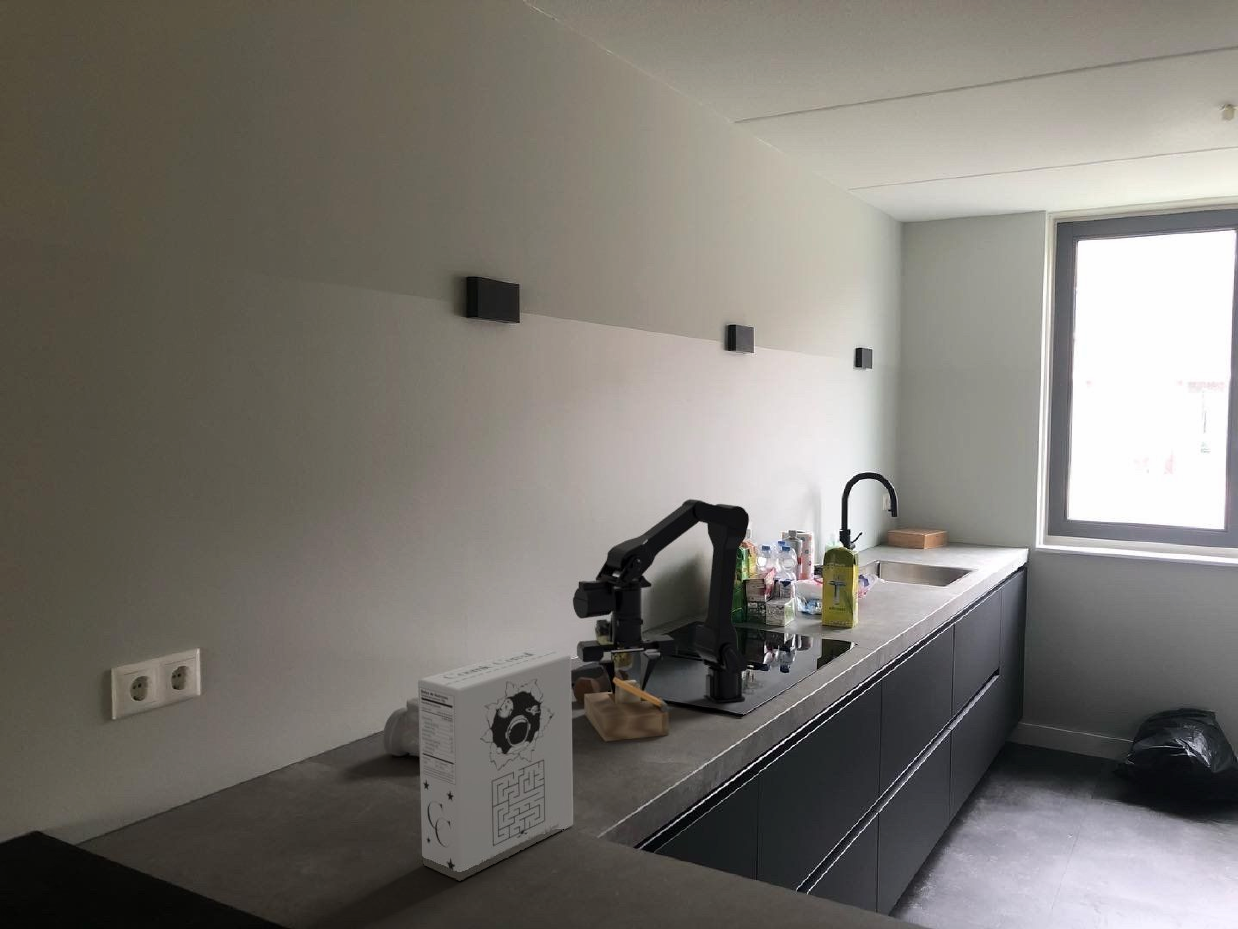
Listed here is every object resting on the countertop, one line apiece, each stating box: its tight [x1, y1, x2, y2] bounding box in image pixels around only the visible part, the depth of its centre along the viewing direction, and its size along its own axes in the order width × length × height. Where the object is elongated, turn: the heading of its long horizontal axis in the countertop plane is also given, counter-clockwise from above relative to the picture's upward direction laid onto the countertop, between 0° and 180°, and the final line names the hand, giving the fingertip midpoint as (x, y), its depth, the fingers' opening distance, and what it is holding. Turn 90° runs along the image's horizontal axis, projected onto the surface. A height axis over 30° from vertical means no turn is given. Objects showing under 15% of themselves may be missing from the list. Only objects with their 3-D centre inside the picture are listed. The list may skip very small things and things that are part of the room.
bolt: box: [572, 670, 630, 705], centre depth 205 cm, size 6×5×15 cm
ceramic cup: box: [594, 620, 635, 672], centre depth 223 cm, size 13×10×10 cm
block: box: [583, 689, 670, 742], centre depth 185 cm, size 12×16×5 cm
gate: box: [613, 677, 666, 708], centre depth 181 cm, size 11×3×1 cm, turn 106°
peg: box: [615, 679, 641, 704], centre depth 189 cm, size 4×4×7 cm
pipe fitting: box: [381, 697, 420, 758], centre depth 168 cm, size 12×8×10 cm
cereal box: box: [417, 646, 574, 872], centre depth 134 cm, size 22×8×25 cm, turn 141°
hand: (627, 692), depth 189 cm, fingers open, 5 cm apart
